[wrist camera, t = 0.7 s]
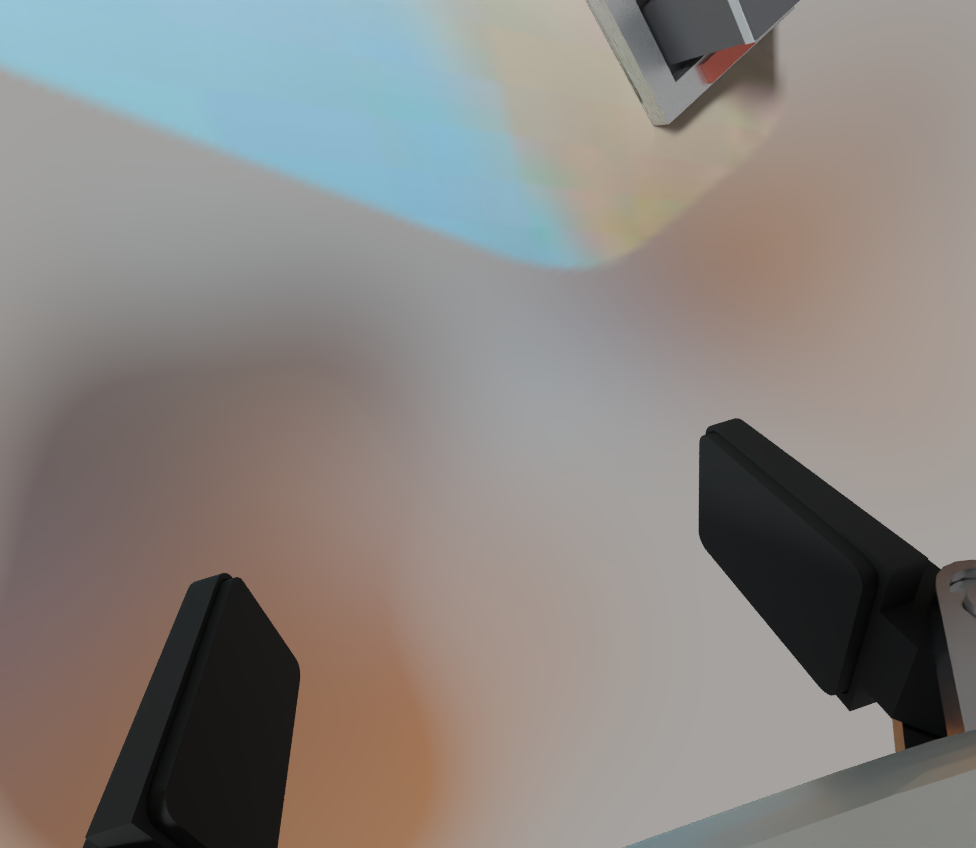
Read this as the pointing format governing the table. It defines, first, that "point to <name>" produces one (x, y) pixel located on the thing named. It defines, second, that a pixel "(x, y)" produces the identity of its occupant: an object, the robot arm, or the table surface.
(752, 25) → the plug
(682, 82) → the power strip
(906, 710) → the robot arm
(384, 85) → the table surface
